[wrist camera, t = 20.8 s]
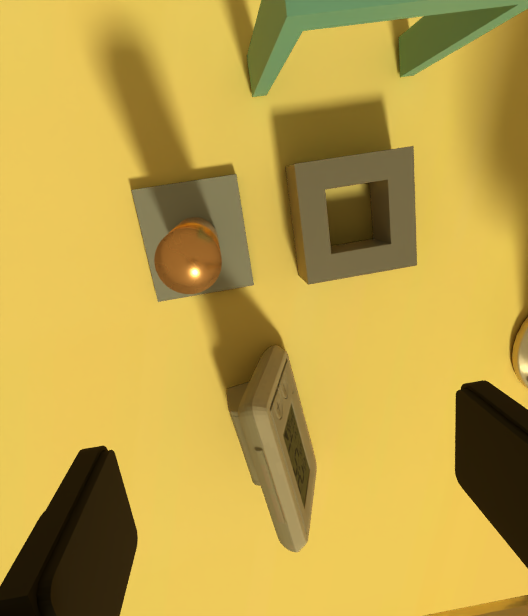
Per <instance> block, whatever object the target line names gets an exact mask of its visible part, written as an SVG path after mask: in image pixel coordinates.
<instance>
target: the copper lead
mask: <svg viewBox="0 0 528 616" xmlns="http://www.w3.org/2000/svg"><path fill="white" fill-rule="evenodd" d="M154 264H155V269H156V272H157V274H158V276H159V278H160V279H161V281H162V282H163V283H164V284H165V285H166V286H167V287H169V288H170V289H172V290H173V291H176V292H178V293H182V294H196V293H200V292H202V291H205V290H206V289H208V288H209V287H211V286H212V285H213V284H214V283H215V281H216V280H217V278H218V276H219V274H220V271H221V267H222V258H221V252H220V246H219V240H218V235H217V232H216V230H215V228H214V227H213V225H212V224H211V223H210V222H208V221H207V220H205V219H203V218H199V217H190V218H187V219H185V220H183V221H181V222H180V223H179V224H178V225H177V226H176V227H175V228H174V229H173V230H171V231H170V232H169V233H168V234H167V235H166V236H165V237H164V238H163V239H162V240H161V242H160V243H159V245H158V246H157V249H156V252H155V258H154Z"/></svg>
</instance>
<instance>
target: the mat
mask: <svg viewBox="0 0 528 616" xmlns="http://www.w3.org/2000/svg"><path fill="white" fill-rule="evenodd" d="M132 194H133V198H134V203H135V207H136V211H137V215H138V219H139V224H140V228H141V232H142V236H143V240H144V245H145V249H146V253H147V257H148V261H149V266H150V270H151V274H152V278H153V282H154V287H155V291H156V295H157V299H158V302H160V301H166V300H171V299H177V298H183V297H188V296H194V295H200V294H206V293H211V292H217V291H223V290H229V289H234V288H240V287H246V286H252V285H254V283H253V277H252V270H251V264H250V258H249V251H248V245H247V239H246V232H245V226H244V220H243V214H242V207H241V201H240V195H239V188H238V182H237V176H236V174H234V175H227V176H221V177H214V178H208V179H201V180H194V181H188V182H181V183H174V184H168V185H161V186H154V187H148V188H141V189H135V190H132ZM190 217H199V218H203V219H205V220H207V221H208V222H210V223H211V224H212V225H213V227H214V228H215V230H216V232H217V235H218V240H219V246H220V252H221V258H222V267H221V271H220V274H219V276H218V278H217V280H216V281H215V283H214V284H213V285H212V286H211V287H209V288H208V289H206V290H205V291H202V292H200V293H196V294H182V293H178V292H176V291H173V290H172V289H170V288H169V287H167V286H166V285H165V284H164V283H163V282H162V281H161V279H160V278H159V276H158V274H157V272H156V269H155V264H154V258H155V252H156V249H157V246H158V245H159V243H160V242H161V240H162V239H163V238H164V237H165V236H166V235H167V234H168V233H169V232H170V231H171V230H173V229H174V228H175V227H176V226H177V225H178V224H179V223H180V222H181V221H183V220H185V219H187V218H190Z"/></svg>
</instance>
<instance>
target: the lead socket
mask: <svg viewBox="0 0 528 616" xmlns="http://www.w3.org/2000/svg"><path fill="white" fill-rule="evenodd" d="M285 169H286V177H287V185H288V193H289V202H290V210H291V218H292V226H293V234H294V242H295V250H296V259H297V267H298V275H299V276H300V277H301V278H302V279H303V280H304V281H305V282H306V283H307V284H314V283H319V282H325V281H331V280H336V279H342V278H348V277H353V276H359V275H365V274H370V273H376V272H382V271H387V270H393V269H399V268H404V267H410V266H416V265H417V251H416V217H415V183H414V149H413V146H410V147H404V148H397V149H390V150H384V151H377V152H371V153H364V154H357V155H351V156H344V157H337V158H331V159H324V160H317V161H311V162H304V163H297V164H293V165H290V166H287V167H285ZM369 182H370V198H371V214H372V230H373V239H369V240H363V241H357V242H352V243H346V244H340V245H334V246H330V236H329V225H328V215H327V204H326V194H325V189H331V188H337V187H343V186H350V185H356V184H363V183H369Z"/></svg>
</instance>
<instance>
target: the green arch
mask: <svg viewBox="0 0 528 616" xmlns="http://www.w3.org/2000/svg"><path fill="white" fill-rule="evenodd" d="M526 9H528V0H261V4H260V8H259V12H258V15H257V19H256V23H255V27H254V31H253V35H252V38H251V42H250V46H249V50H248V54H247V61H248V69H249V76H250V83H251V90H252V97H257V96H264V95H267V93H268V92H269V90H270V88H271V86H272V85H273V83H274V81H275V79H276V77H277V76H278V74H279V72H280V70H281V69H282V67H283V65H284V63H285V62H286V60H287V58H288V56H289V54H290V53H291V51H292V49H293V47H294V46H295V44H296V42H297V40H298V39H299V37H300V35H301V33H302V31H306V30H314V29H323V28H331V27H339V26H347V25H355V24H363V23H372V22H380V21H388V20H396V19H404V18H412V17H421V16H424V17H422V18H421V19H420V20H419V21H418V22H416V23H415V24H414V25H413V26H412V27H410V28H409V29H408V30H407V31H406V32H404V33H403V34H402V35H401V36H400V37H399V61H400V77H405V76H412V75H415V74H416V73H418V72H420V71H422V70H423V69H425V68H427V67H428V66H430V65H432V64H434V63H435V62H437V61H439V60H441V59H442V58H444V57H446V56H447V55H449V54H451V53H453V52H454V51H456V50H458V49H459V48H461V47H463V46H465V45H466V44H468V43H470V42H471V41H473V40H475V39H477V38H478V37H480V36H482V35H483V34H485V33H487V32H489V31H490V30H492V29H494V28H495V27H497V26H499V25H501V24H502V23H504V22H506V21H508V20H509V19H511V18H513V17H514V16H516V15H518V14H520V13H521V12H523V11H525V10H526Z"/></svg>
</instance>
